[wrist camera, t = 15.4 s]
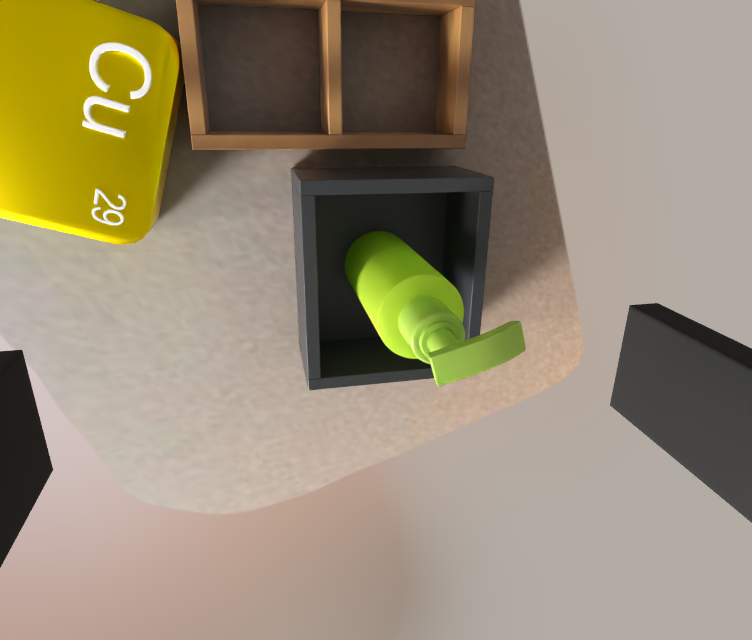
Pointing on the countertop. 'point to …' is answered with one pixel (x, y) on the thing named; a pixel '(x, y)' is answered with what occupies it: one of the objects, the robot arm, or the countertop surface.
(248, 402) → the countertop surface
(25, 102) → the element tile
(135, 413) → the countertop surface
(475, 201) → the dark grey open box
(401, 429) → the countertop surface
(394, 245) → the soap dispenser
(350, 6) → the wooden divided tray
